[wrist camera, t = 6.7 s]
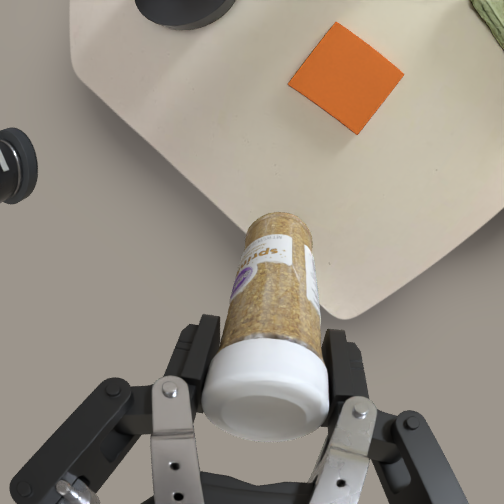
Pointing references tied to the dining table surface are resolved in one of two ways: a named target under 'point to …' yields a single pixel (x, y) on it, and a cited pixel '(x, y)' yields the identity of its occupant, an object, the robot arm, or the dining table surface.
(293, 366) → the sprinkles bottle
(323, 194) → the dining table surface
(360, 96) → the orange square coaster
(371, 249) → the dining table surface
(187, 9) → the pan
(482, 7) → the washcloth
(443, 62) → the dining table surface
